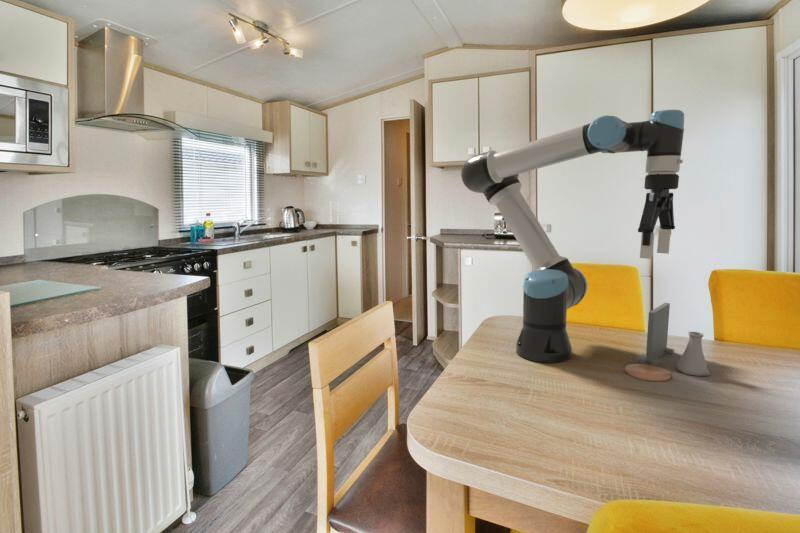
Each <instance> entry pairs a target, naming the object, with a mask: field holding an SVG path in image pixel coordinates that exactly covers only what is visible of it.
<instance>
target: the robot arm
mask: <svg viewBox="0 0 800 533" xmlns="http://www.w3.org/2000/svg"><path fill="white" fill-rule="evenodd" d="M684 125H685V113H684V111H682V110H680V109H662V110H657V111H654V112H652V113H651V114H650V117H649V119H648V120H646V121H636V122H626V121H624V120H622V119H621V118H620V117H617V116H615V115H601V116H599V117H597V118H595V119H594V120H593V121H592V122H590V123H587V124H584V125H581V126H578V127H574V128H571V129H568V130H564V131H562V132H559V133H555V134H552V135H549V136H546V137H542V138H539V139H536V140H533V141H532V140H531V141H529V142H526V143H524V144H520V145H517V146H513V147H511V148H508V149H507V148H506V149H504V150H501V151H498V152H497V150H494V149H493V150H489V151H486V152H483V153H478V154H474V155H472V156H470V157H468V159H467V160H466V161H465V162H464V163H463V165H462V168H461V173H460V176H461V180H462V183H463V185H464V187H466V188H467V189H468V190H470V191H471V192H473V193H478V194H479V193H480V194H483V195H484V197H485V199H486V201H487V202H488V204H489V205H492V206H496V207H497V209H498V212H499V213H500V215H501V216H502V218H503V220H504V221H505V222H506V224H507V227H508V228H509V230H510V231H511V233H512V235H513V236H514V238H515V239H516V241H517V243H518V245H519V246H520V248H521V250H522V252H523V253H524V254H525V256H526V258H527V260H528V261H529V263H530V265H531V267H532V268H533V270H532V271H530V272H528V273H526V275H524V278H523V279H524V280H523V285H522V289H523V298H522V299H523V305H522V306H523V309H522V310H523V312H522V328H521V329H520V333H519V334H518V335H519V336H518V338H517V341H516V343H515V344H516V345H515V348H516V349H515V352H516V354H517V355H518V356H520V357H521V358H524V359H526V360H529V361H533V362H541V363H562V362H565V361H568V360H570V359H571V358H573V347H572V344H571V340H570V336H569V334H568V332H567V312H568V311H567V310H569V309H570V308H573V307H575V306H577V305H578V304H580V302H582V300H583V299H585V297H586V294H587V291H588V281H587V278H586V276H585V275H584V274H583V273H582V271H580V270H579V269H577V268H575V267H574V266H572V264H571V262H570V260H569V258H568V257H565V256H562V255H560V254H559V253H558V251H557V249H556V247H555V246H554V244H553V243H552V241H551V240H550V238H549V236H548V235H547V233H546V230H544V228H543V226H542V225H541V222H539V220H538V218H537V217H536V215H535V213H534V211H533V210H532V209H531V207H530V205H529V204H528V202H527V200H526V198H525V197H524V196H523V194H522V192H521V189H522V188H521V187H522V183H521V182H520V181H521V180H519V174H523V173H527V172H530V171H535V170H537V169H541V168H545V167H548V166H552V165H553V166H554V165H555V164H559V163H563V162H567V161H571V160H574V159H579V158H581V157H582V158H583V157H586V156H588V155H594V154H598V153H601V154H613V155H614V154H617V153H620V154H621V153H633V152H647V153H646V161H645V162H646V164H645V173H647V174H646V175H645V177H644V187H643V188H644V189H645V190H651V192H647V193H646V194H645V202H644V206H643V210H642V214H641V218H640V222H639V226H638V229H637V232H638V233H641V236H640V238H641V240H640V249H639V250H640V251H639V259H648V260H649V259H650V260H652V259H653V257H654V256H653V254H654V245H655V244H654V242H655V232H654V230H655V228H656V224H657V221H659V226H660V229H658V238H657V250H656V253H657V254H666V255H668V254H669V252H670V245H671V243H670V242H671V235H672V234H671V233H672V230H675V228H676V225H675V220H674V219H675V218H674V215H675V214H674V192H670V190H677V189H678V188H679V182H680V180H679V179H680V175H679V174H677V173H678V172H680V168H681V164H683V162H684V161H683V159H681V156H682V148H683V139H684V134H685V133H684V132H685V128H684V127H685V126H684Z"/></svg>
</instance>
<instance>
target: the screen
mask: <svg viewBox="0 0 800 533" xmlns="http://www.w3.org/2000/svg"><path fill="white" fill-rule="evenodd" d="M670 306H671V303H669V302H664V303H662V304H660V305H659V306H657V307H655V308H653V309H652V310H650V311H649V312H648V320H647V321H648V322H647V336H646V350H645V351H646V354H645V356H643V355H642V356H641V355H639V357H638V358H637V362H638V363H641V364H647V365H653V366H657V367H660V366H661V365H662V360H659V358H660V357H661V356H662V355H664V354H668V355H673V354H674V353H675V349H674V348H670V347H668V346H667V345H668V336H669V335H668V334H669V322H670V321H669V320H670V308H671V307H670Z"/></svg>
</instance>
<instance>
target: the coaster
mask: <svg viewBox="0 0 800 533" xmlns="http://www.w3.org/2000/svg"><path fill="white" fill-rule="evenodd" d="M624 371H625V373H626V374H627V375H629V376H630V377H632V378H635V379H638V380H641V381H646V382H654V383H656V382H657V383H658V382H660V383H661V382H667V381H670V380H671V379H672V373H671V372H670V371H668V370H667V369H664V368H663V367H660V366H655V365H650V364H646V363H632V364H628V365H626V366H625V368H624Z"/></svg>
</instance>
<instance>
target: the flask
mask: <svg viewBox="0 0 800 533" xmlns="http://www.w3.org/2000/svg"><path fill="white" fill-rule="evenodd" d="M688 336H689V338H688V342H687V345H686V347H685V348H684V349H685V350H684V351H683V353H682V356H681V357H680V359H678V360H679V361H678V362H677V364H676V370H677V371H679V372H680V373H683V374H685V375H689V376H697V377H703V376H705V377H706V376H711V374H710V371H709V368H708V367H709V366H708V364H707V361H706V358H705V355H704V352H703V346H702V345H703V344H702V342H703V340H702V339H703V337H704V333H702V332H700V331H688Z"/></svg>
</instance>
